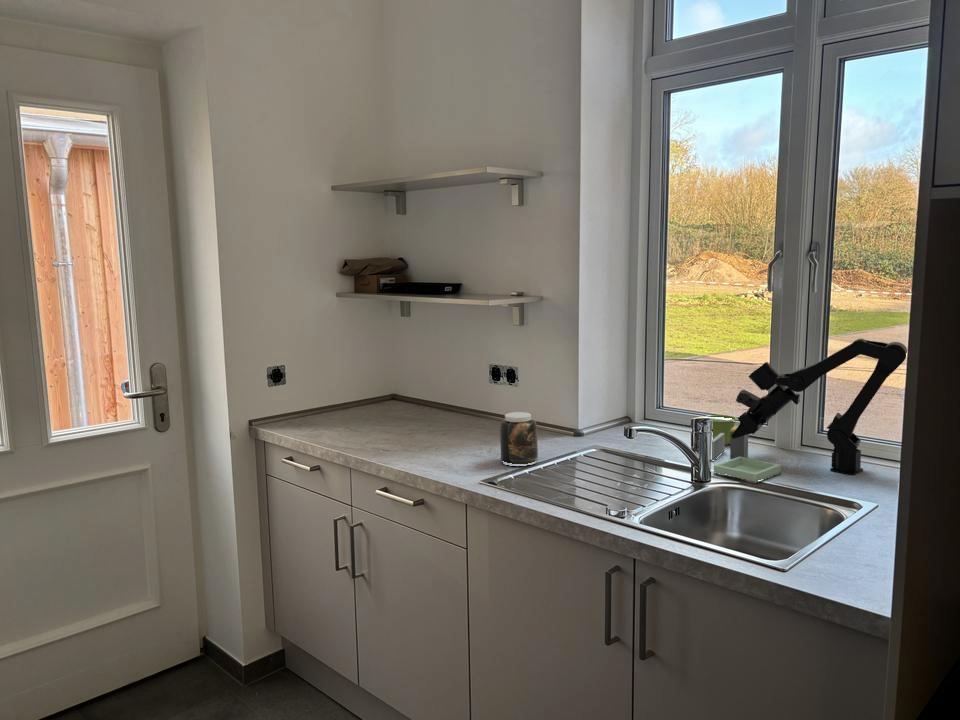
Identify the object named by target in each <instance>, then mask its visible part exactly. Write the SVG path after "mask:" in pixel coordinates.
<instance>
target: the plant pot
mask: <svg viewBox="0 0 960 720" xmlns="http://www.w3.org/2000/svg"><path fill="white" fill-rule="evenodd" d="M707 417H724V418H732V419H734V420H735V422H733V421H713V439H714V438H715V437H716V436H718V435H719V434H720V433H725V445H726V446H729V444H730V429H731V428H733V427H734V426H735V424H736V421H737V419H738V417H736V416H733V415H727V414H712V415H708V416H707Z"/></svg>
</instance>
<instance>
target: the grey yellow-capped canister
mask: <svg viewBox="0 0 960 720" xmlns="http://www.w3.org/2000/svg"><path fill="white" fill-rule="evenodd" d="M738 426H739V425H734V427H733V428H731V429H730V448H729V449H730V453H729V460H730V459H734V458H736V457H739V456H740V457H745V458H749V434H748V435H744V436H741V437H738V438H734V439H733V438H732V437H731V435H732V434H733V433H734V431H735V430H736V429H737V427H738Z"/></svg>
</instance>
